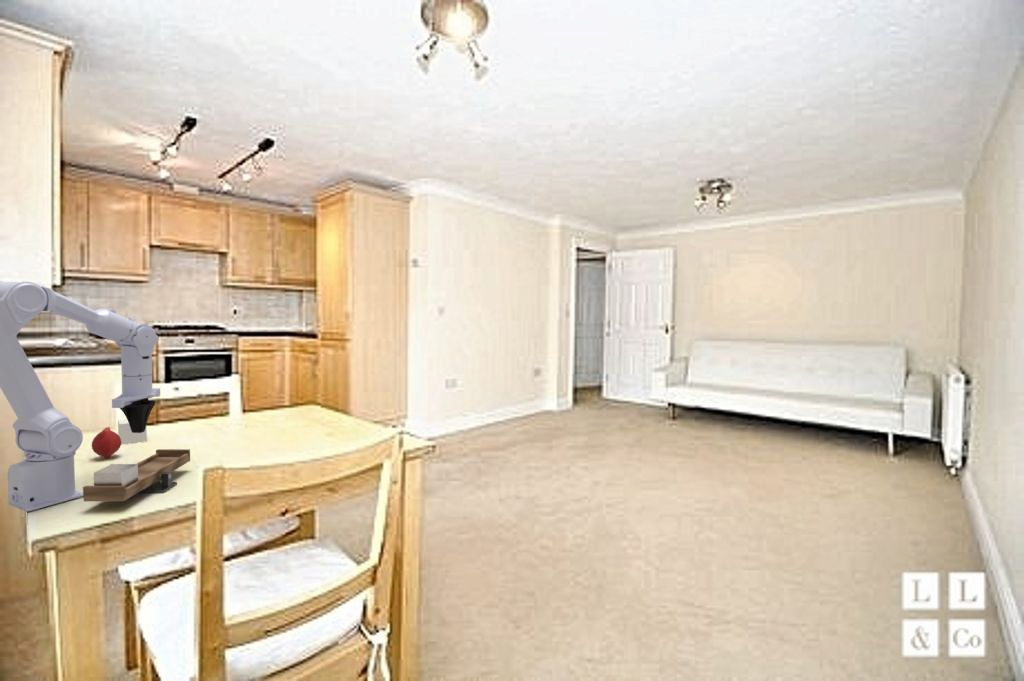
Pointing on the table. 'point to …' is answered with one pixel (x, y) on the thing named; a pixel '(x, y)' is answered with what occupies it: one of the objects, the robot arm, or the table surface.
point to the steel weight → (116, 475)
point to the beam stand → (161, 484)
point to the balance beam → (140, 476)
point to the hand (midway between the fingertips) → (138, 432)
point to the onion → (106, 443)
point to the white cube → (129, 433)
